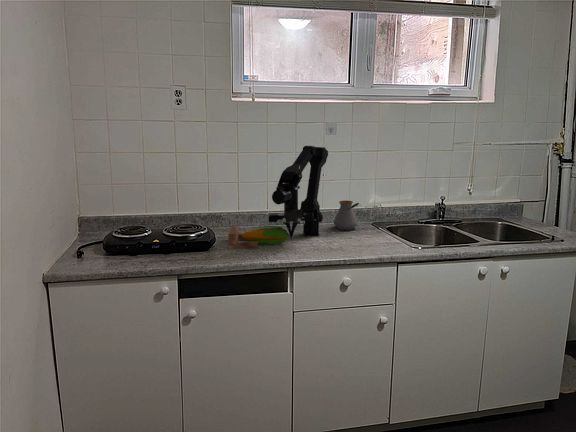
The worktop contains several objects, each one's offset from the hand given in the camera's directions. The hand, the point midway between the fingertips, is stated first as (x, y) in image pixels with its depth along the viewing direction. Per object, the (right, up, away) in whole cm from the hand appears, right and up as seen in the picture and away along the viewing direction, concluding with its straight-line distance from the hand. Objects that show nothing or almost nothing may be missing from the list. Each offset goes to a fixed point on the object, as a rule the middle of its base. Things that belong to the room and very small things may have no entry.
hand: (291, 237), depth 203 cm
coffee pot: (+27, +2, +24) cm, 36 cm away
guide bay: (-19, -3, 0) cm, 20 cm away
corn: (-11, -3, +1) cm, 11 cm away
